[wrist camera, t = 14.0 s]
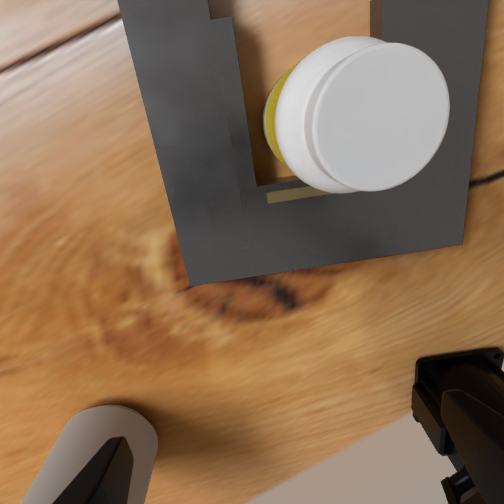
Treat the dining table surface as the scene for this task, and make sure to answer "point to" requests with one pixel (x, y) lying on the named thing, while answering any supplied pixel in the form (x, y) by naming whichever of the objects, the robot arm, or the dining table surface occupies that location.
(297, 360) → the dining table surface
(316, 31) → the dining table surface
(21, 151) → the dining table surface
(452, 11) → the keyhole plate
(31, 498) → the can
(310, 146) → the supplement bottle
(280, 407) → the dining table surface
